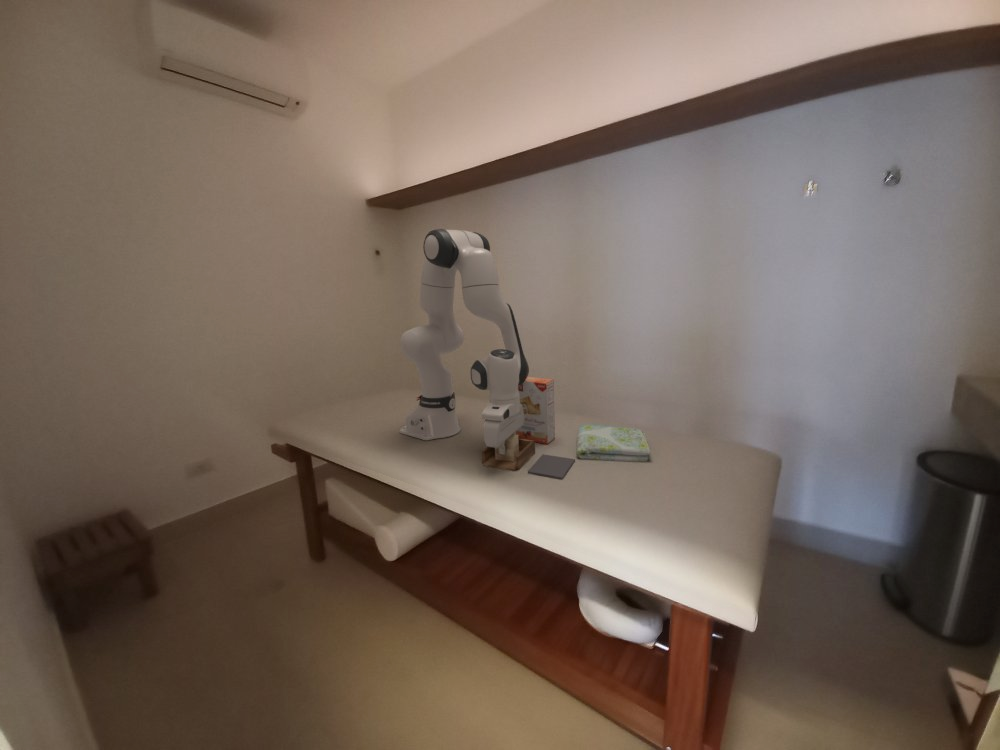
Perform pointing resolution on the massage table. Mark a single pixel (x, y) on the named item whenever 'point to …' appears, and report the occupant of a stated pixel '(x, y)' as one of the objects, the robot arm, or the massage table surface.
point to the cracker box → (537, 410)
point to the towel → (612, 443)
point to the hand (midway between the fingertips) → (506, 449)
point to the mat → (551, 466)
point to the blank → (509, 449)
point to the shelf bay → (524, 455)
